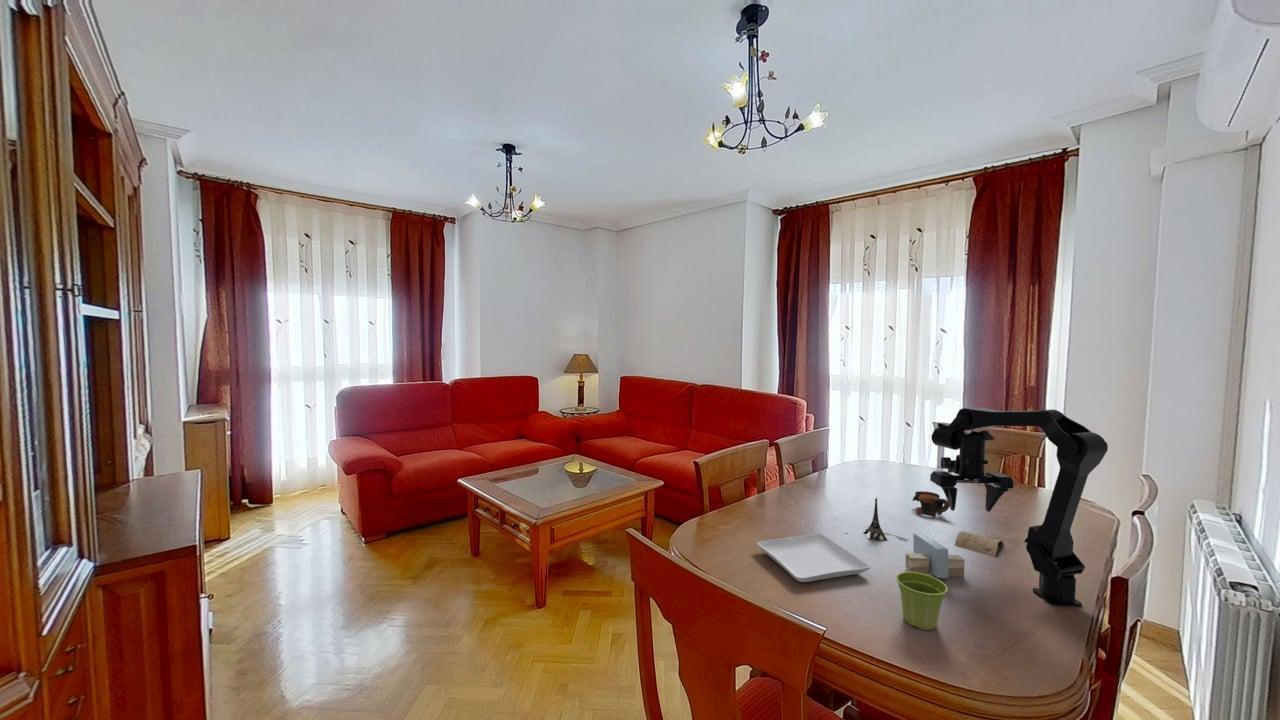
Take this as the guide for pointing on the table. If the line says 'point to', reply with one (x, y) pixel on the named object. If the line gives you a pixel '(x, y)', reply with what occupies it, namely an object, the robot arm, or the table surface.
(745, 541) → the table surface
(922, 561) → the maple rail
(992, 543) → the clay tablet
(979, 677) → the table surface
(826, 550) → the salad plate
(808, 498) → the table surface
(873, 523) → the eiffel tower figurine
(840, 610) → the table surface
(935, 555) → the pale blue plank
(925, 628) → the plant pot
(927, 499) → the pottery mug
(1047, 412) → the robot arm
